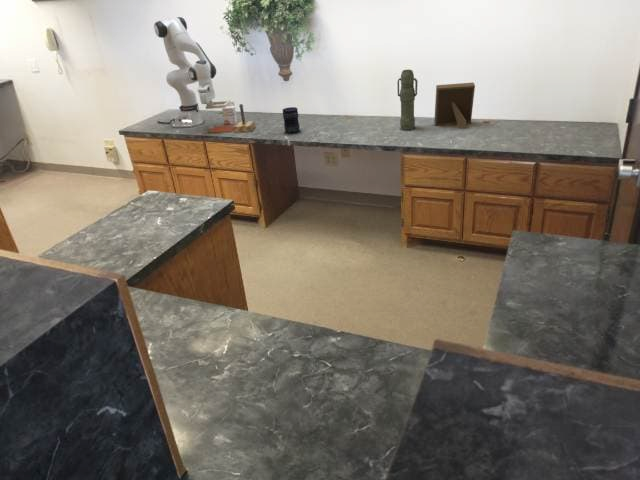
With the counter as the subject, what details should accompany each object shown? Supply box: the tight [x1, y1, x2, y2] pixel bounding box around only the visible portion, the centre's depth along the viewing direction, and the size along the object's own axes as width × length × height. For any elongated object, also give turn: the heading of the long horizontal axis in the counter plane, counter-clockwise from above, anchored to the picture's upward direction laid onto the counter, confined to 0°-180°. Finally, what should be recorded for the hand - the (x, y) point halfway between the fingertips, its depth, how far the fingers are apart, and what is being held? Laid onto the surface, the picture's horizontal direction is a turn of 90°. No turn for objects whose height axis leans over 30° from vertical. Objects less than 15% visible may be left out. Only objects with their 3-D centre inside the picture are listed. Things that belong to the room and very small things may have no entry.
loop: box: [204, 100, 232, 110], centre depth 345 cm, size 14×14×2 cm
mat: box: [208, 125, 235, 134], centre depth 353 cm, size 16×14×1 cm
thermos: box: [397, 69, 419, 131], centre depth 308 cm, size 9×12×35 cm
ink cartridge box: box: [221, 101, 238, 125], centre depth 362 cm, size 9×5×15 cm, turn 84°
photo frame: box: [433, 82, 476, 129], centre depth 307 cm, size 15×22×25 cm
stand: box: [233, 103, 256, 134], centre depth 343 cm, size 12×12×18 cm
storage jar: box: [282, 106, 301, 135], centre depth 328 cm, size 10×10×15 cm
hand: (210, 107), depth 341 cm, fingers closed on loop, 2 cm apart
